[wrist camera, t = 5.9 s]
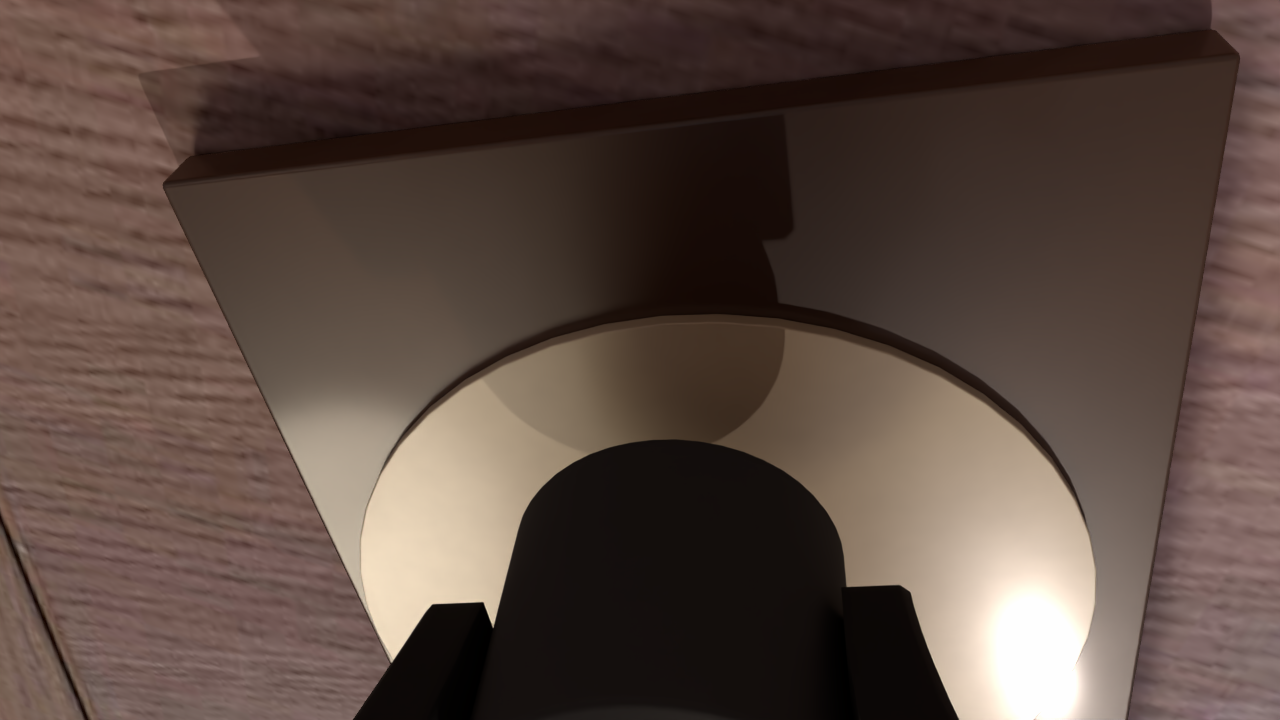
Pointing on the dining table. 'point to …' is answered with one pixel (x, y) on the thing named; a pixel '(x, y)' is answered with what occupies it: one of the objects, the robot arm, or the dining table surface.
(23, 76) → the dining table surface
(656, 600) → the dot
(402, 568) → the board
